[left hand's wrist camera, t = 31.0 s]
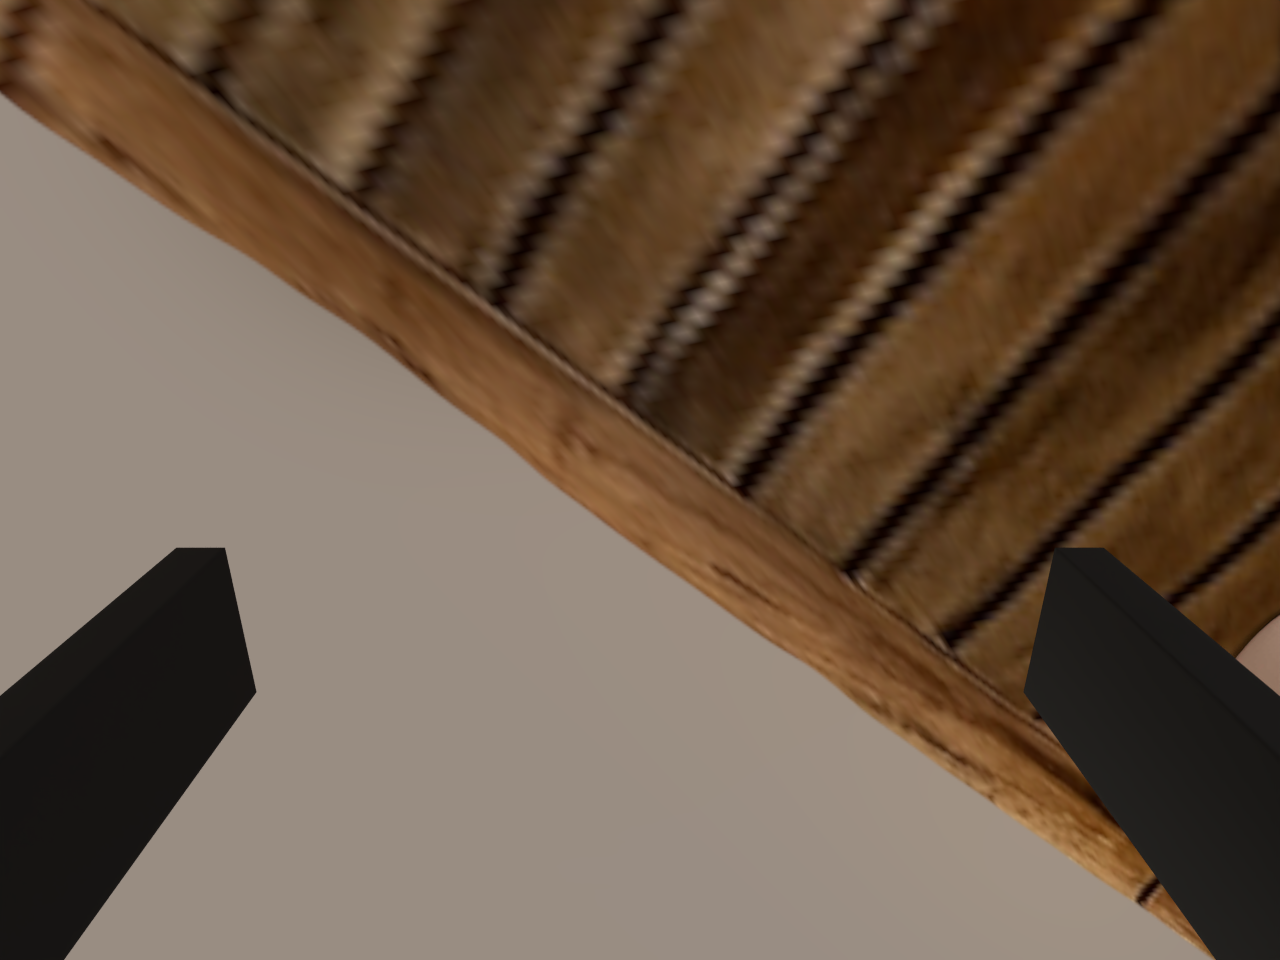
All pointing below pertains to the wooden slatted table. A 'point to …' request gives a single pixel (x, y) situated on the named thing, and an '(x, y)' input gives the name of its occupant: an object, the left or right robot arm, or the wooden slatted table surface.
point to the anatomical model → (1264, 655)
